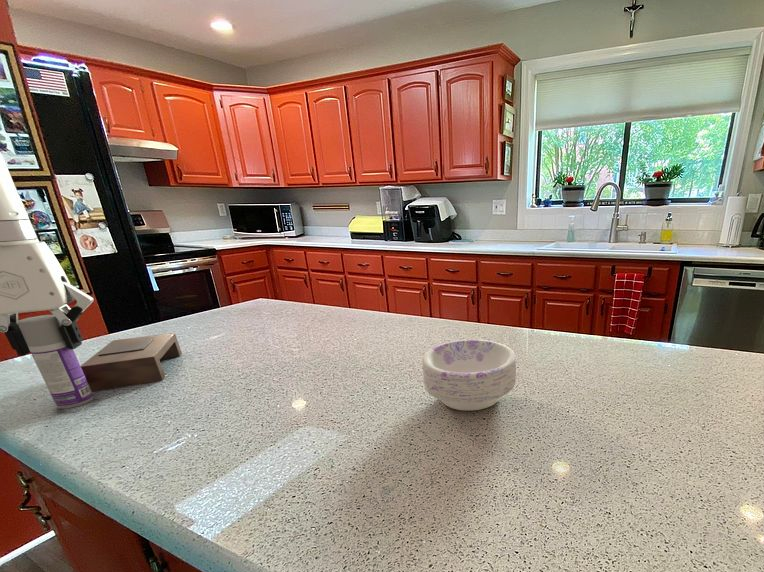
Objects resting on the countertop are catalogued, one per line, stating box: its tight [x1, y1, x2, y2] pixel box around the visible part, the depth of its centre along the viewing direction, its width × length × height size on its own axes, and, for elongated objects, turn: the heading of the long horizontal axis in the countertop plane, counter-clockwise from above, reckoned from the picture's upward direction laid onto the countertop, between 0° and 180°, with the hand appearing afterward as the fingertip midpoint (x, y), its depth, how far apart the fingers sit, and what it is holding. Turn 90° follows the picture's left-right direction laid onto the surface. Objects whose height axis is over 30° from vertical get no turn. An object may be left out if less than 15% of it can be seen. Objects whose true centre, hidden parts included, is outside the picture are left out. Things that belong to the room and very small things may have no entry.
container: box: [17, 314, 95, 410], centre depth 66 cm, size 5×5×15 cm
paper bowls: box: [421, 339, 517, 412], centre depth 65 cm, size 15×15×8 cm
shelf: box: [80, 332, 183, 393], centre depth 80 cm, size 11×16×5 cm
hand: (51, 348), depth 65 cm, fingers open, 5 cm apart
